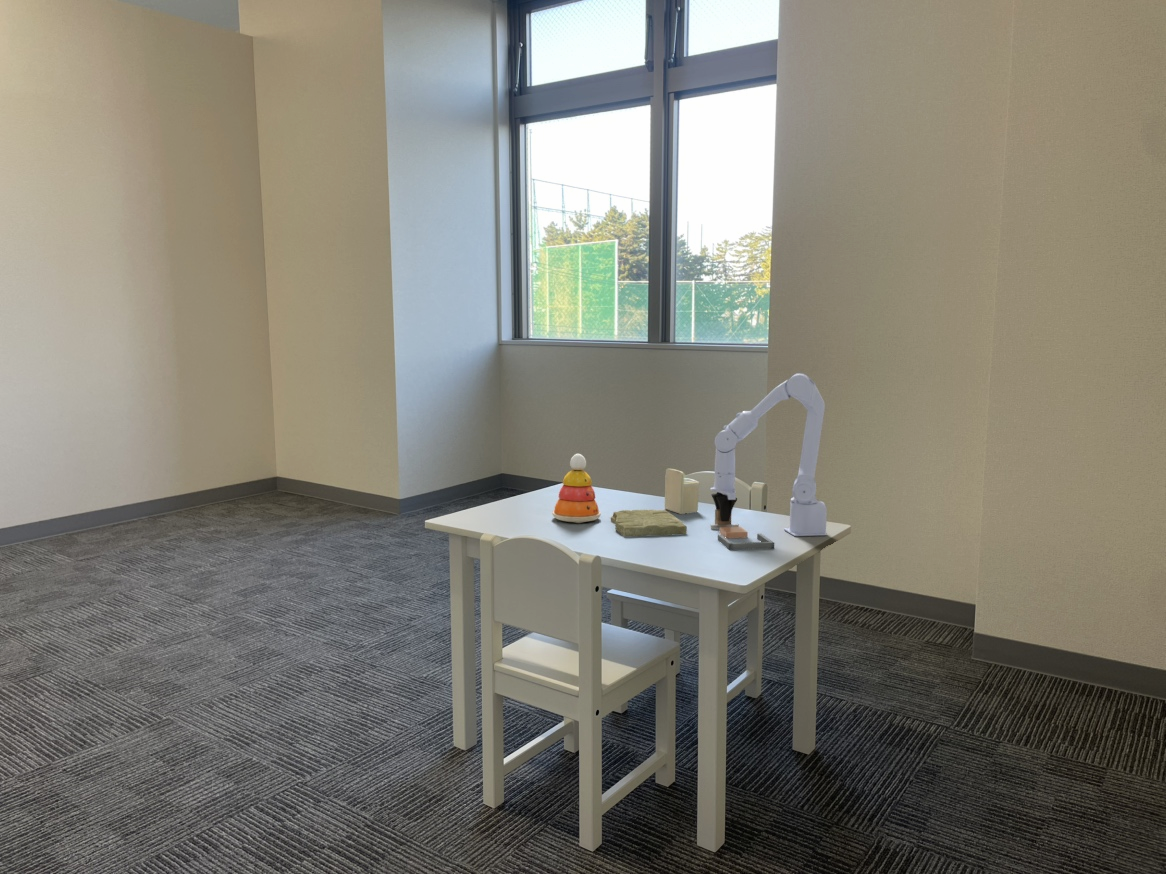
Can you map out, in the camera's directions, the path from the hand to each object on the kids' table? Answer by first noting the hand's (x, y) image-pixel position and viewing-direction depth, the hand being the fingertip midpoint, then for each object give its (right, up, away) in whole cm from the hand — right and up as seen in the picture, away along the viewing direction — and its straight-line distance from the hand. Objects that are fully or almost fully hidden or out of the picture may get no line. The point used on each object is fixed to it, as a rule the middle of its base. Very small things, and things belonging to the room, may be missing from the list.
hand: (723, 519), depth 245 cm
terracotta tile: (+1, -4, -9) cm, 9 cm away
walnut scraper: (0, -2, 0) cm, 2 cm away
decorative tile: (-22, -3, 0) cm, 22 cm away
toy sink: (-9, 0, +22) cm, 24 cm away
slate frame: (+3, -5, -18) cm, 19 cm away
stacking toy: (-42, -1, +9) cm, 43 cm away
